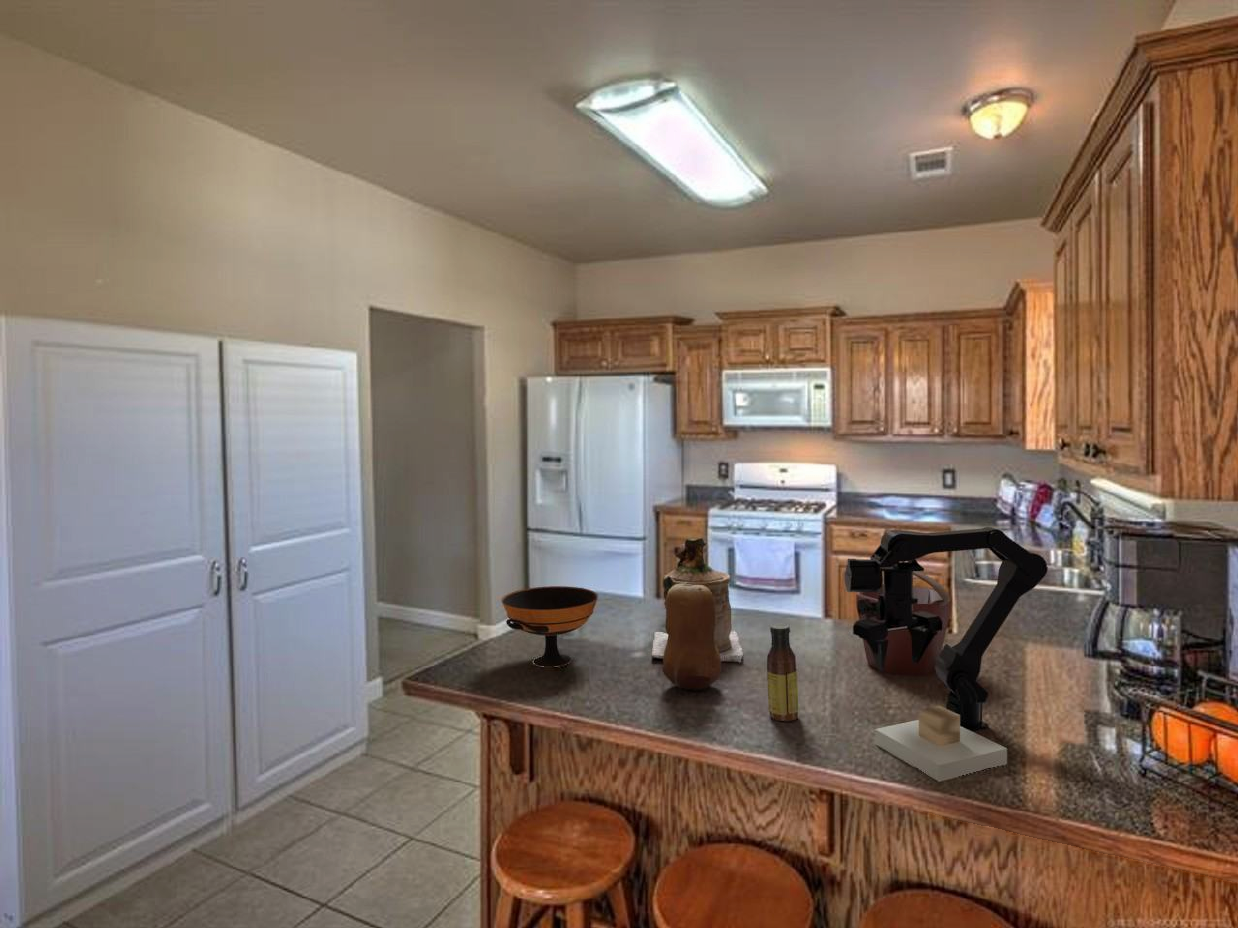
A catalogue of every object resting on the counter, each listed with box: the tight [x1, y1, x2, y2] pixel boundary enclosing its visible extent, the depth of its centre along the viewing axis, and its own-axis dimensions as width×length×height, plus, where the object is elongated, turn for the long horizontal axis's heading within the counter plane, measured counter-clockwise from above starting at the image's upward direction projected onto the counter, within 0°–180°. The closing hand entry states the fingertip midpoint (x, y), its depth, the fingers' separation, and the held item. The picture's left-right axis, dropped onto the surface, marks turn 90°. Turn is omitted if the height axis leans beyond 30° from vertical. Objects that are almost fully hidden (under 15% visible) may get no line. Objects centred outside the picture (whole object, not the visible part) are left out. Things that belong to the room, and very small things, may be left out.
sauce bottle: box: [766, 623, 799, 723], centre depth 152 cm, size 7×6×20 cm
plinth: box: [874, 719, 1008, 783], centre depth 134 cm, size 16×16×3 cm
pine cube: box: [918, 705, 960, 746], centre depth 134 cm, size 5×5×5 cm
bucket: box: [855, 571, 952, 677], centre depth 184 cm, size 24×22×25 cm
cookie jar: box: [651, 537, 744, 663], centre depth 199 cm, size 25×25×32 cm
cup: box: [501, 585, 599, 667], centre depth 190 cm, size 36×26×18 cm
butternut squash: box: [662, 583, 722, 692], centre depth 170 cm, size 14×13×25 cm
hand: (897, 666), depth 148 cm, fingers open, 9 cm apart
